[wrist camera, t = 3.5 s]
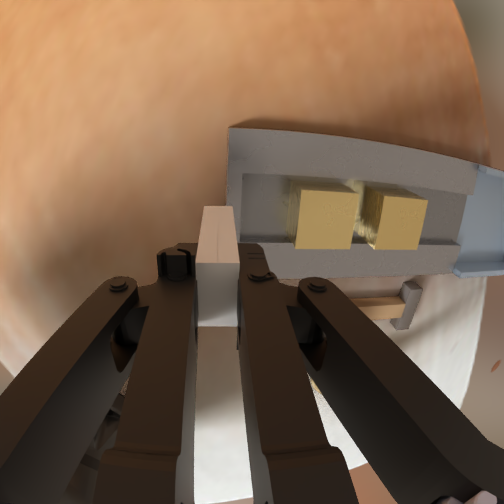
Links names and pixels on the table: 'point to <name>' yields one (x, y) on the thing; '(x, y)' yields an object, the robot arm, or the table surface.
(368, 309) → the hammer
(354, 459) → the table surface
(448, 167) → the slot board
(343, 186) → the yellow square block
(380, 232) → the chip
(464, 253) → the tray
